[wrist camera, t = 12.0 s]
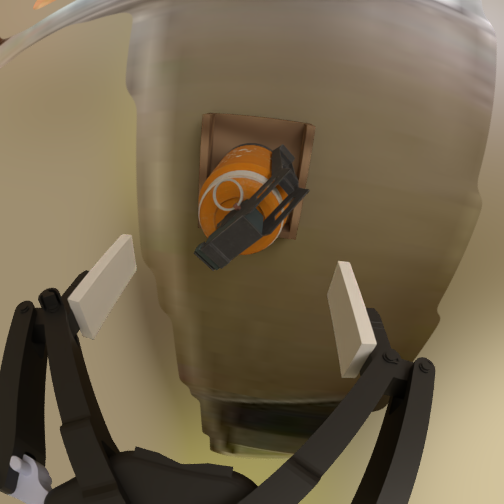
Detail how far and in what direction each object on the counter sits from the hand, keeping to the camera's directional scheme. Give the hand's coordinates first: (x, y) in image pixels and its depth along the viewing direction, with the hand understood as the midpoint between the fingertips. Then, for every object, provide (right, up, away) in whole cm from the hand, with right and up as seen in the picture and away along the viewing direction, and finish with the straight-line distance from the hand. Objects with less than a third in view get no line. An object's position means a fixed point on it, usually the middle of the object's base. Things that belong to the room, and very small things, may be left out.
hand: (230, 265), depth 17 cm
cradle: (+2, +12, +22) cm, 25 cm away
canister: (+2, +12, +21) cm, 24 cm away
